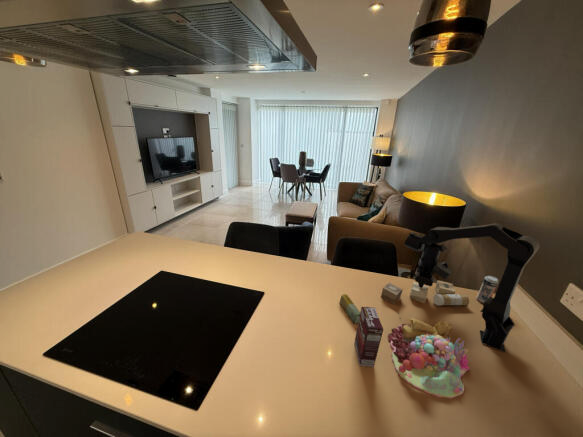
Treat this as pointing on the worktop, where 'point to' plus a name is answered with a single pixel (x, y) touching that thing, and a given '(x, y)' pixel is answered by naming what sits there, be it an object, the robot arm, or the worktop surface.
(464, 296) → the granule seasoning jar
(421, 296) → the plain birch block
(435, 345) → the pastel sphere sculpture
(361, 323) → the supplement box
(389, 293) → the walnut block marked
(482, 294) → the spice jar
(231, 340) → the worktop surface
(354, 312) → the medication box
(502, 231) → the robot arm
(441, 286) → the oak block marked
